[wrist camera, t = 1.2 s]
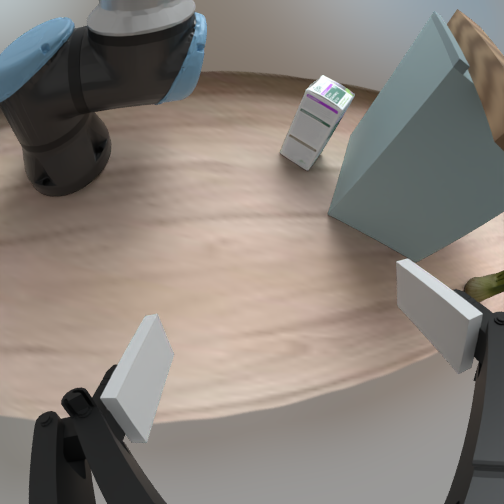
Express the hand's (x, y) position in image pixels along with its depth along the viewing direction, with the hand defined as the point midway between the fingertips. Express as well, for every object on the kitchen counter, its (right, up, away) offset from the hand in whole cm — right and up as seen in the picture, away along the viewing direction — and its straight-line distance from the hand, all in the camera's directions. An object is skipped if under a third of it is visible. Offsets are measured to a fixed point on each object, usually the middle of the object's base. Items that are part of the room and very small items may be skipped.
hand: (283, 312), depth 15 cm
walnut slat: (+22, +22, +5) cm, 32 cm away
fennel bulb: (+40, -5, +31) cm, 52 cm away
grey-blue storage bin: (+22, +14, +34) cm, 43 cm away
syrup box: (+6, +20, +33) cm, 39 cm away
